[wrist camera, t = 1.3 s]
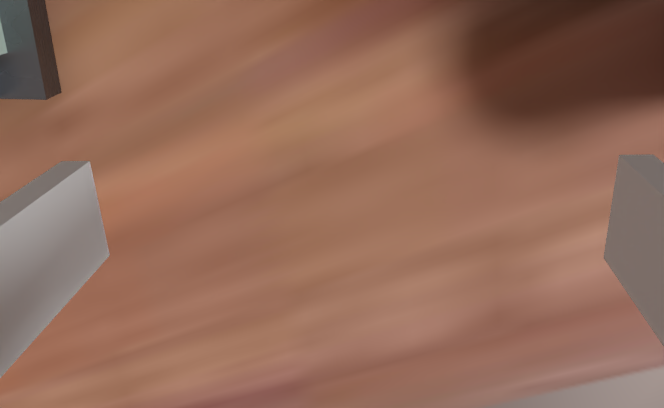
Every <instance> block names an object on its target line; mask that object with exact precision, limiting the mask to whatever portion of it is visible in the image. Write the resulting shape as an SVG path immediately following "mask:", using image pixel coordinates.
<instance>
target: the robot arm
mask: <svg viewBox="0 0 664 408" xmlns="http://www.w3.org/2000/svg"><path fill="white" fill-rule="evenodd" d="M109 256H110V255H109V250H108V246H107V241H106V236H105V231H104V227H103V222H102V217H101V212H100V208H99V203H98V198H97V193H96V189H95V184H94V179H93V174H92V170H91V165H90V161H61V162H60V163H58V164H57V165H55V166H54V167H52V168H51V169H49V170H48V171H46V172H45V173H43V174H42V175H40V176H39V177H37V178H36V179H34V180H33V181H31V182H30V183H28V184H27V185H25V186H24V187H22V188H21V189H19V190H18V191H16V192H15V193H13V194H12V195H10V196H9V197H7V198H6V199H4V200H3V201H1V202H0V378H1V377H2V376H3V374H4V373H5V372H6V371H7V370H8V369H9V368H10V367H11V365H12V364H13V363H14V362H15V361H16V360H17V359H18V358H19V356H20V355H21V354H22V353H23V352H24V351H25V350H26V349H27V348H28V346H29V345H30V344H31V343H32V342H33V341H34V340H35V339H36V337H37V336H38V335H39V334H40V333H41V332H42V331H43V330H44V328H45V327H46V326H47V325H48V324H49V323H50V322H51V321H52V320H53V318H54V317H55V316H56V315H57V314H58V313H59V312H60V311H61V309H62V308H63V307H64V306H65V305H66V304H67V303H68V302H69V300H70V299H71V298H72V297H73V296H74V295H75V294H76V293H77V291H78V290H79V289H80V288H81V287H82V286H83V285H84V284H85V283H86V281H87V280H88V279H89V278H90V277H91V276H92V275H93V274H94V272H95V271H96V270H97V269H98V268H99V267H100V266H101V265H102V263H103V262H104V261H105V260H106V259H107V258H108V257H109ZM604 259H605V261H606V262H607V263H608V265H609V266H610V268H611V269H612V271H613V272H614V274H615V275H616V277H617V278H618V280H619V281H620V283H621V284H622V286H623V287H624V289H625V290H626V292H627V293H628V294H629V296H630V297H631V299H632V300H633V302H634V303H635V305H636V306H637V308H638V309H639V311H640V312H641V314H642V315H643V317H644V318H645V320H646V321H647V323H648V324H649V325H650V327H651V328H652V330H653V331H654V333H655V334H656V336H657V337H658V339H659V340H660V342H661V343H662V345H663V346H664V163H663V162H662V161H660V160H659V159H658V158H657V157H655V156H654V155H619V160H618V166H617V173H616V179H615V186H614V192H613V199H612V206H611V212H610V219H609V225H608V232H607V238H606V245H605V252H604Z"/></svg>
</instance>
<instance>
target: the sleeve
mask: <svg viewBox="0 0 664 408" xmlns="http://www.w3.org/2000/svg"><path fill="white" fill-rule="evenodd" d="M5 53H7V48H6V43H5V39H4V34H3V29H2V24H1V20H0V55H2V54H5Z"/></svg>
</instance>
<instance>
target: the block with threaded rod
mask: <svg viewBox="0 0 664 408" xmlns="http://www.w3.org/2000/svg"><path fill="white" fill-rule="evenodd" d="M0 20H1V24H2V29H3V34H4V39H5V43H6V48H7V53H5V54H2V55H0V99H41V100H46V99H49V98H51V97H53V96H55V95H57V94H59V93H61V88H60V83H59V77H58V72H57V66H56V60H55V55H54V49H53V44H52V38H51V33H50V27H49V22H48V16H47V11H46V5H45V0H0Z"/></svg>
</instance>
